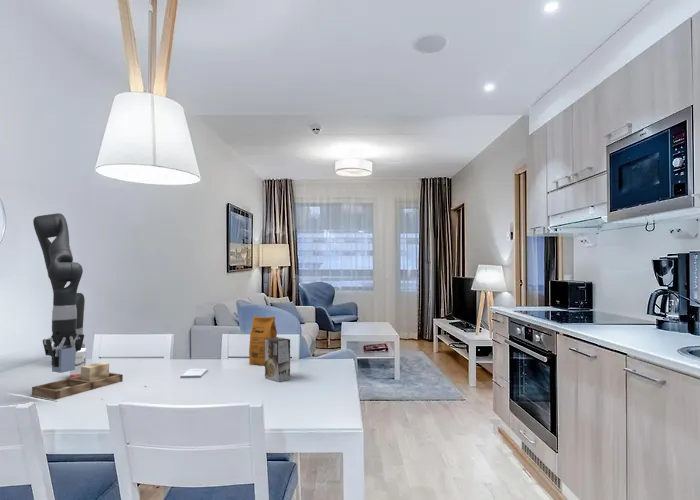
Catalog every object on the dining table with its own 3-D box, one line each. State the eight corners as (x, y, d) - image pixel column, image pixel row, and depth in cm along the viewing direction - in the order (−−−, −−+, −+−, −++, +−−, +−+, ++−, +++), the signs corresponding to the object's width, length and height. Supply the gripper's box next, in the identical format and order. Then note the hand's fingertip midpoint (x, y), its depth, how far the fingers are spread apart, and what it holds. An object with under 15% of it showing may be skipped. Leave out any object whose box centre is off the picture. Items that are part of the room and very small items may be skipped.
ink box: (84, 380, 179) (84, 350, 179) (69, 381, 177) (70, 351, 177) (86, 375, 187) (86, 347, 187) (72, 376, 184) (72, 348, 185)
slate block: (65, 368, 164) (66, 346, 164) (74, 369, 162) (75, 347, 162) (51, 371, 159) (52, 348, 159) (61, 372, 157) (61, 349, 157)
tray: (99, 379, 180) (99, 371, 180) (122, 383, 175) (122, 374, 175) (31, 396, 157) (32, 387, 157) (56, 401, 151) (56, 391, 151)
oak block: (100, 380, 176) (100, 362, 176) (108, 381, 174) (109, 363, 174) (80, 385, 169) (80, 366, 169) (89, 386, 167) (89, 367, 167)
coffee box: (290, 379, 181) (291, 339, 181) (278, 382, 176) (278, 341, 177) (276, 375, 187) (277, 336, 188) (264, 378, 182) (264, 338, 183)
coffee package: (256, 360, 217) (256, 314, 217) (279, 362, 213) (279, 315, 213) (245, 364, 207) (245, 316, 208) (269, 366, 203) (269, 317, 204)
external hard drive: (180, 379, 182) (188, 372, 195) (200, 379, 183) (208, 372, 195) (180, 375, 182) (188, 368, 195) (200, 375, 183) (208, 368, 195)
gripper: (76, 315, 169) (75, 360, 168) (37, 319, 156) (36, 368, 155) (90, 316, 166) (89, 362, 165) (50, 320, 153) (49, 370, 152)
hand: (63, 365), depth 160 cm, fingers closed on slate block, 5 cm apart
